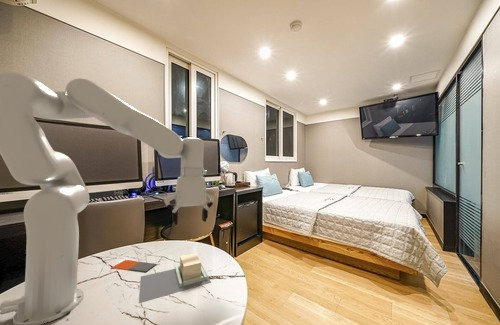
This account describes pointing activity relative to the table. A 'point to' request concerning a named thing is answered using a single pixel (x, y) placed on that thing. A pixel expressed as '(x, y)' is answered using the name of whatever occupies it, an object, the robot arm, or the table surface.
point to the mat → (168, 283)
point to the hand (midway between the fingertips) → (190, 222)
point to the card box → (190, 266)
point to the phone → (134, 266)
